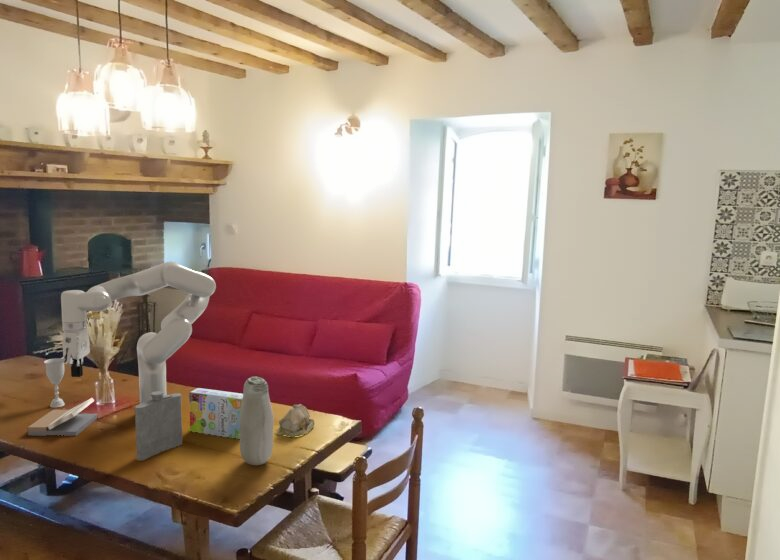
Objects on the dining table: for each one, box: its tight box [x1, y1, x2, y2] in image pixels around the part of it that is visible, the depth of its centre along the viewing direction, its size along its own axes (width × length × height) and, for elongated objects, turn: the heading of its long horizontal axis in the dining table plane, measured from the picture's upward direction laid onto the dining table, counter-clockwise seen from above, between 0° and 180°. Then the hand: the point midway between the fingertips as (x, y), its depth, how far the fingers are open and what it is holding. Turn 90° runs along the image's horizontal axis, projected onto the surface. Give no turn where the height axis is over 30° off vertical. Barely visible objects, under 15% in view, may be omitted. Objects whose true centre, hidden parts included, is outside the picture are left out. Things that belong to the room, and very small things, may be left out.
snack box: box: [189, 387, 243, 440], centre depth 196 cm, size 21×6×15 cm, turn 74°
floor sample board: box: [27, 409, 99, 437], centre depth 198 cm, size 16×16×3 cm
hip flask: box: [134, 391, 183, 462], centre depth 181 cm, size 16×4×20 cm, turn 146°
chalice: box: [43, 357, 66, 409], centre depth 216 cm, size 7×7×18 cm
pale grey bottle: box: [239, 376, 274, 466], centre depth 174 cm, size 10×10×28 cm
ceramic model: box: [275, 403, 315, 437], centre depth 201 cm, size 14×11×10 cm
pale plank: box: [47, 397, 95, 430], centre depth 198 cm, size 10×15×2 cm, turn 2°
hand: (77, 376), depth 196 cm, fingers closed
